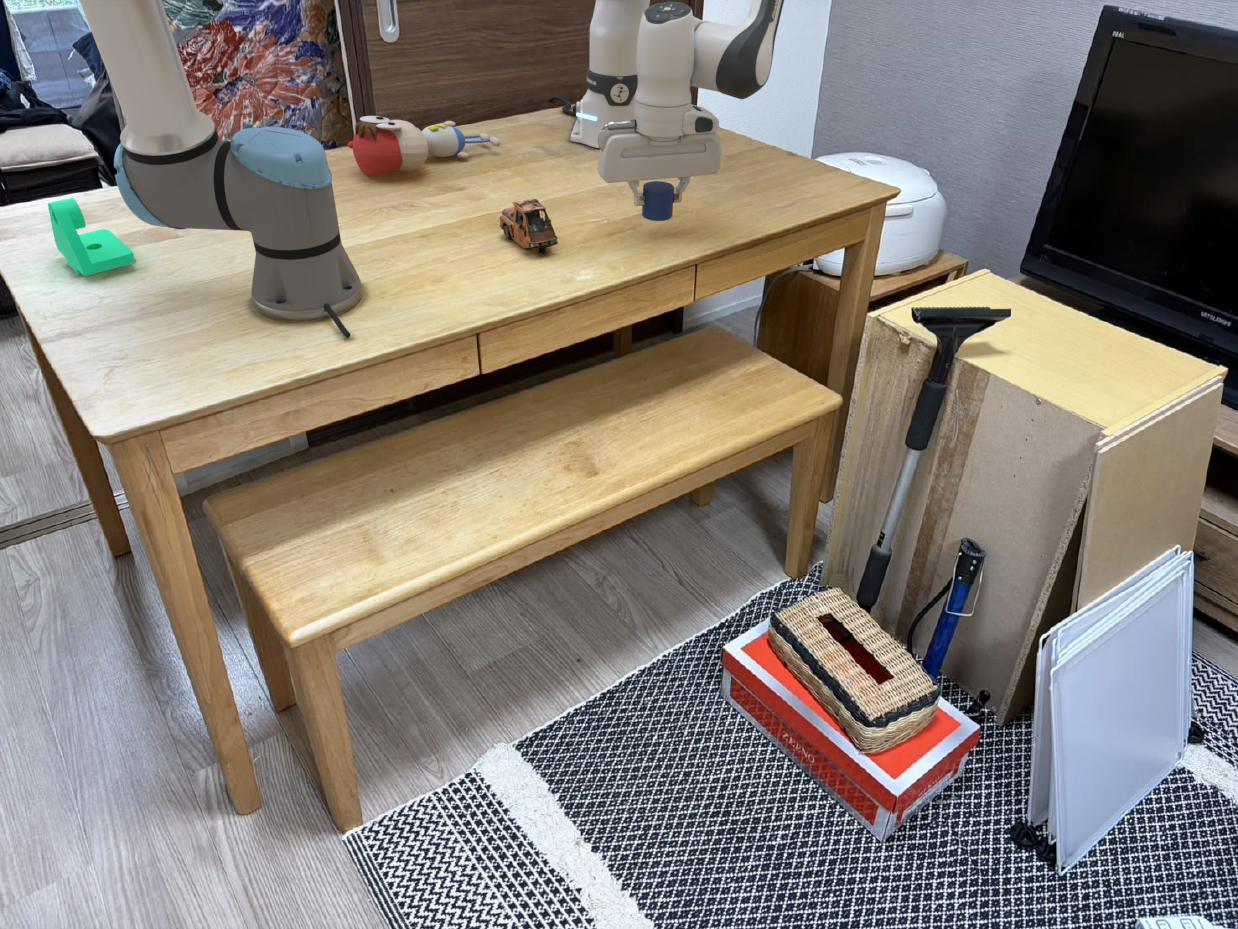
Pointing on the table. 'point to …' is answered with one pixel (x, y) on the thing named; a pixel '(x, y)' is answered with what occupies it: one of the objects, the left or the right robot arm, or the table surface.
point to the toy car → (528, 225)
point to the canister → (658, 200)
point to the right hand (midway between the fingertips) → (657, 203)
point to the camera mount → (85, 241)
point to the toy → (405, 144)
